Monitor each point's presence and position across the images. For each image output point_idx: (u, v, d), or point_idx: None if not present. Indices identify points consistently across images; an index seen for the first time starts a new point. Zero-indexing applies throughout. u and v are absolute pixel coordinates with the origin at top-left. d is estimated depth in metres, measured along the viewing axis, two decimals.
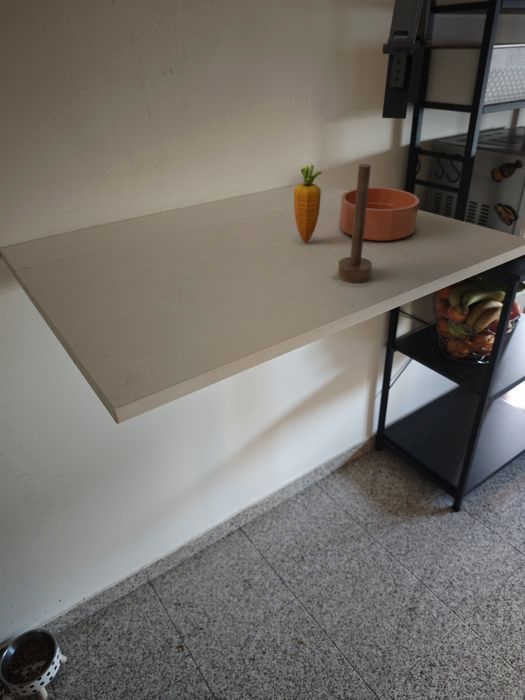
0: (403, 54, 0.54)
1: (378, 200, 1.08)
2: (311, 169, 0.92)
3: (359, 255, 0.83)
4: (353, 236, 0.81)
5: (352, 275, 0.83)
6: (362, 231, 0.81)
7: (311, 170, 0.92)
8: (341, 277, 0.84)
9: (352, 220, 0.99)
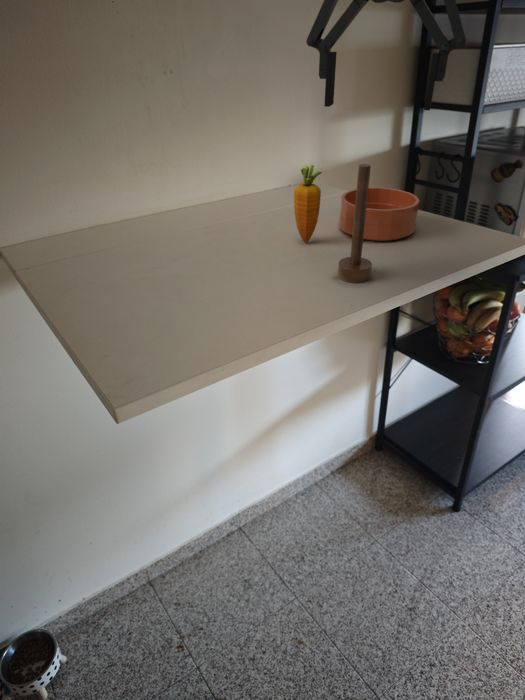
0: None
1: (378, 200, 1.08)
2: (311, 169, 0.92)
3: (359, 255, 0.83)
4: (353, 236, 0.81)
5: (352, 275, 0.83)
6: (362, 231, 0.81)
7: (311, 170, 0.92)
8: (341, 277, 0.84)
9: (352, 220, 0.99)
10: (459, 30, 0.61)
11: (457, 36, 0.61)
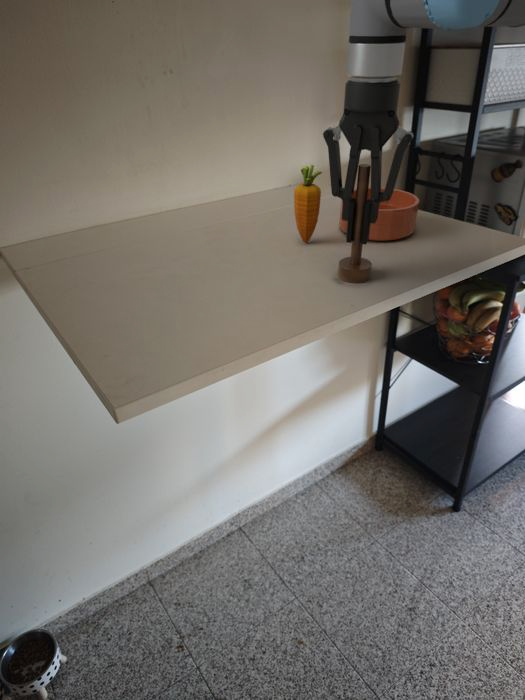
0: None
1: None
2: (311, 169, 0.92)
3: (359, 255, 0.83)
4: (353, 236, 0.81)
5: (352, 275, 0.83)
6: (362, 231, 0.81)
7: (311, 170, 0.92)
8: (341, 277, 0.84)
9: None
10: (390, 189, 0.75)
11: (386, 192, 0.75)
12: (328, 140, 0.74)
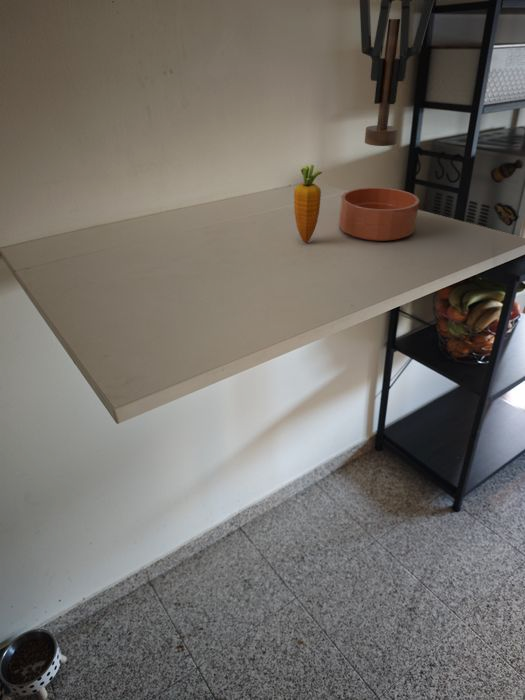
0: None
1: (378, 200, 1.08)
2: (311, 169, 0.92)
3: (386, 118, 0.86)
4: (381, 97, 0.84)
5: (380, 137, 0.86)
6: (390, 91, 0.84)
7: (311, 170, 0.92)
8: (368, 141, 0.87)
9: (352, 220, 0.99)
10: (419, 41, 0.78)
11: (415, 45, 0.78)
12: None
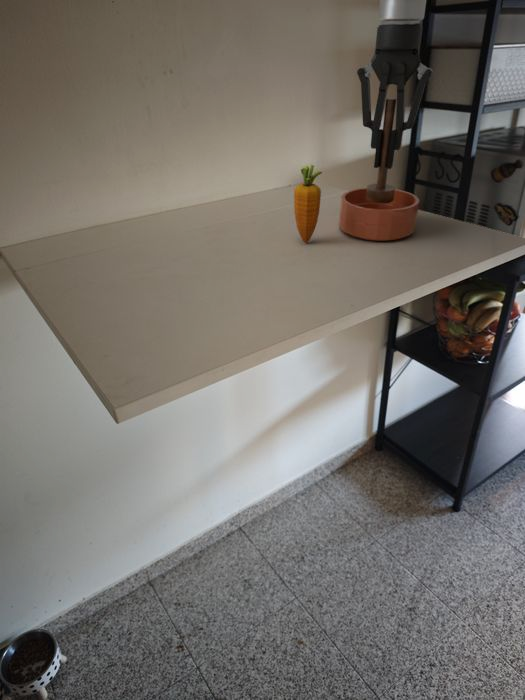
0: None
1: None
2: (311, 169, 0.92)
3: (384, 179, 0.98)
4: (380, 162, 0.97)
5: (378, 196, 0.98)
6: (387, 157, 0.96)
7: (311, 170, 0.92)
8: (369, 199, 1.00)
9: (352, 220, 0.99)
10: (412, 118, 0.90)
11: (409, 121, 0.91)
12: (361, 77, 0.90)
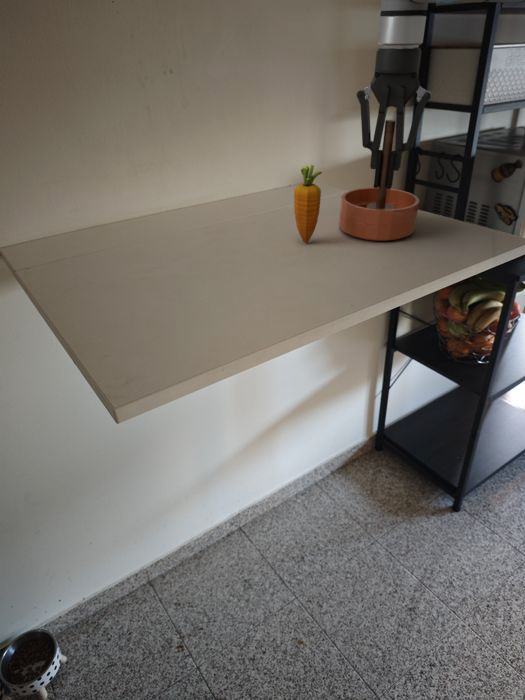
0: None
1: None
2: (311, 169, 0.92)
3: (384, 199, 0.99)
4: (379, 182, 0.97)
5: None
6: (387, 178, 0.97)
7: (311, 170, 0.92)
8: None
9: (352, 220, 0.99)
10: (411, 140, 0.91)
11: (408, 142, 0.91)
12: (361, 99, 0.90)
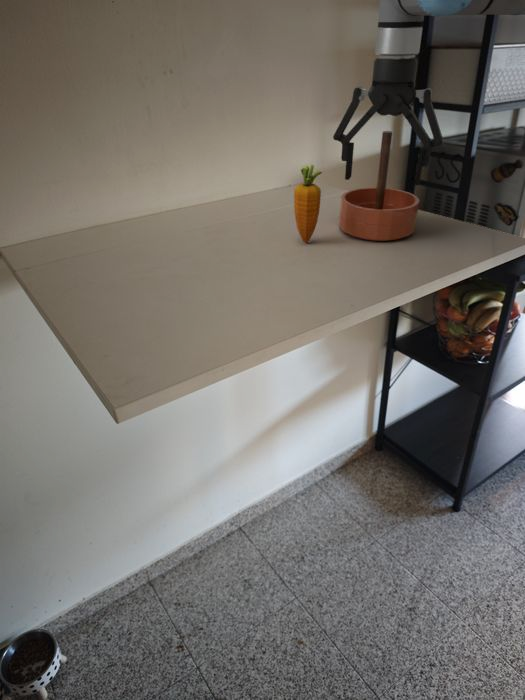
0: None
1: None
2: (311, 169, 0.92)
3: (381, 208, 1.01)
4: (376, 191, 1.00)
5: None
6: (384, 187, 0.99)
7: (311, 170, 0.92)
8: None
9: (352, 220, 0.99)
10: (437, 135, 0.90)
11: (436, 139, 0.91)
12: (355, 96, 0.92)
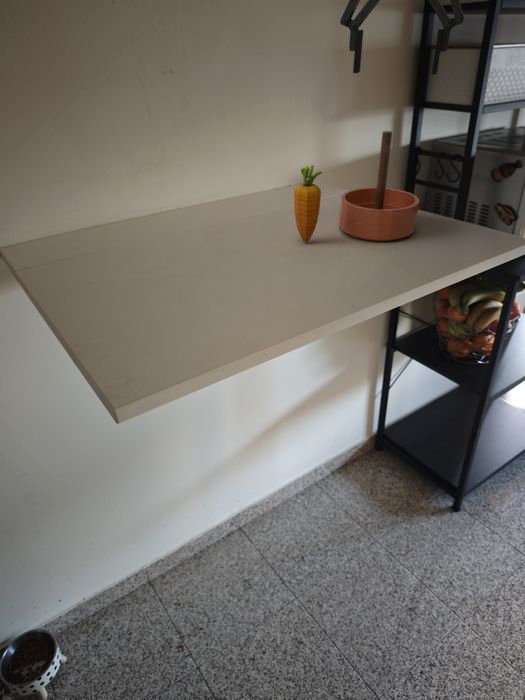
0: None
1: None
2: (311, 169, 0.92)
3: (381, 208, 1.01)
4: (376, 191, 1.00)
5: None
6: (384, 187, 0.99)
7: (311, 170, 0.92)
8: None
9: (352, 220, 0.99)
10: (458, 11, 0.80)
11: (457, 15, 0.80)
12: None
